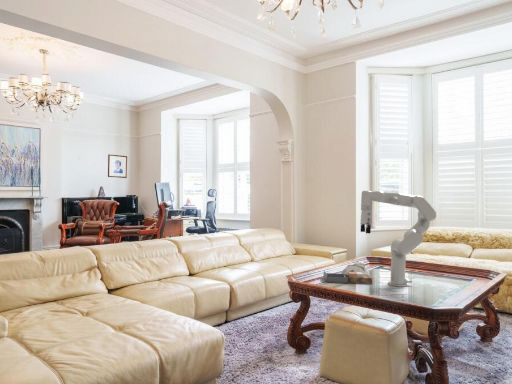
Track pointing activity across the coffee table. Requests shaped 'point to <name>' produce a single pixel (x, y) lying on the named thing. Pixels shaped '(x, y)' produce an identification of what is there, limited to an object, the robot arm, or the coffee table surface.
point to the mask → (355, 268)
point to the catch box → (335, 278)
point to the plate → (359, 279)
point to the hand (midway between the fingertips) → (365, 232)
